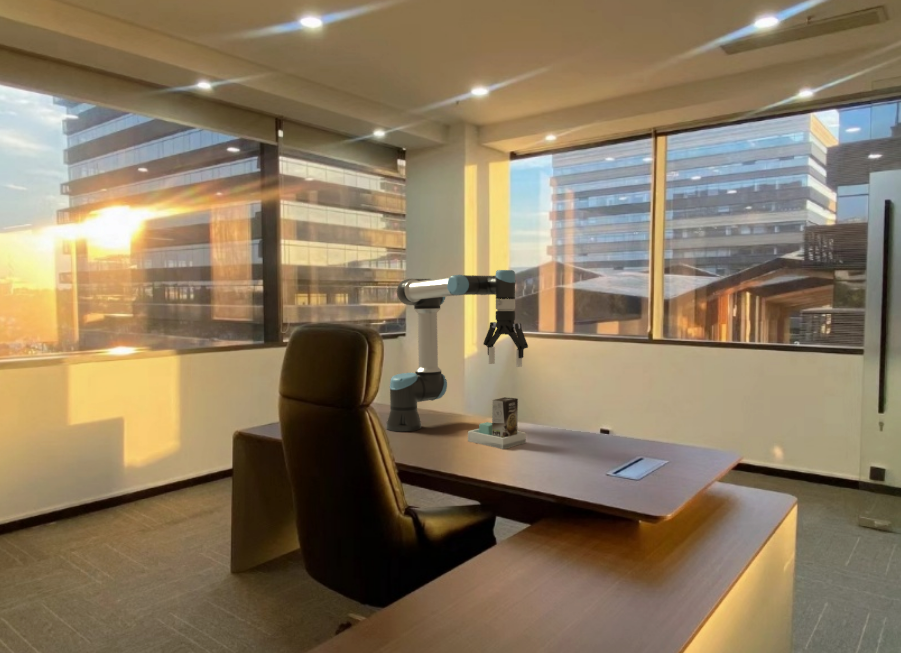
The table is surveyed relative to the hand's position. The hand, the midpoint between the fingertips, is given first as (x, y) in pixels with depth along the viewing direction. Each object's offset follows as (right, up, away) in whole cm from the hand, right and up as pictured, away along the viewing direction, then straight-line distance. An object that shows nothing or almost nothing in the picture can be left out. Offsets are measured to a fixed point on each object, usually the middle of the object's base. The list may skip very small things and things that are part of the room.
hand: (505, 365), depth 242 cm
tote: (-3, -31, +5) cm, 31 cm away
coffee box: (0, -29, +1) cm, 29 cm away
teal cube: (-6, -29, +8) cm, 30 cm away
